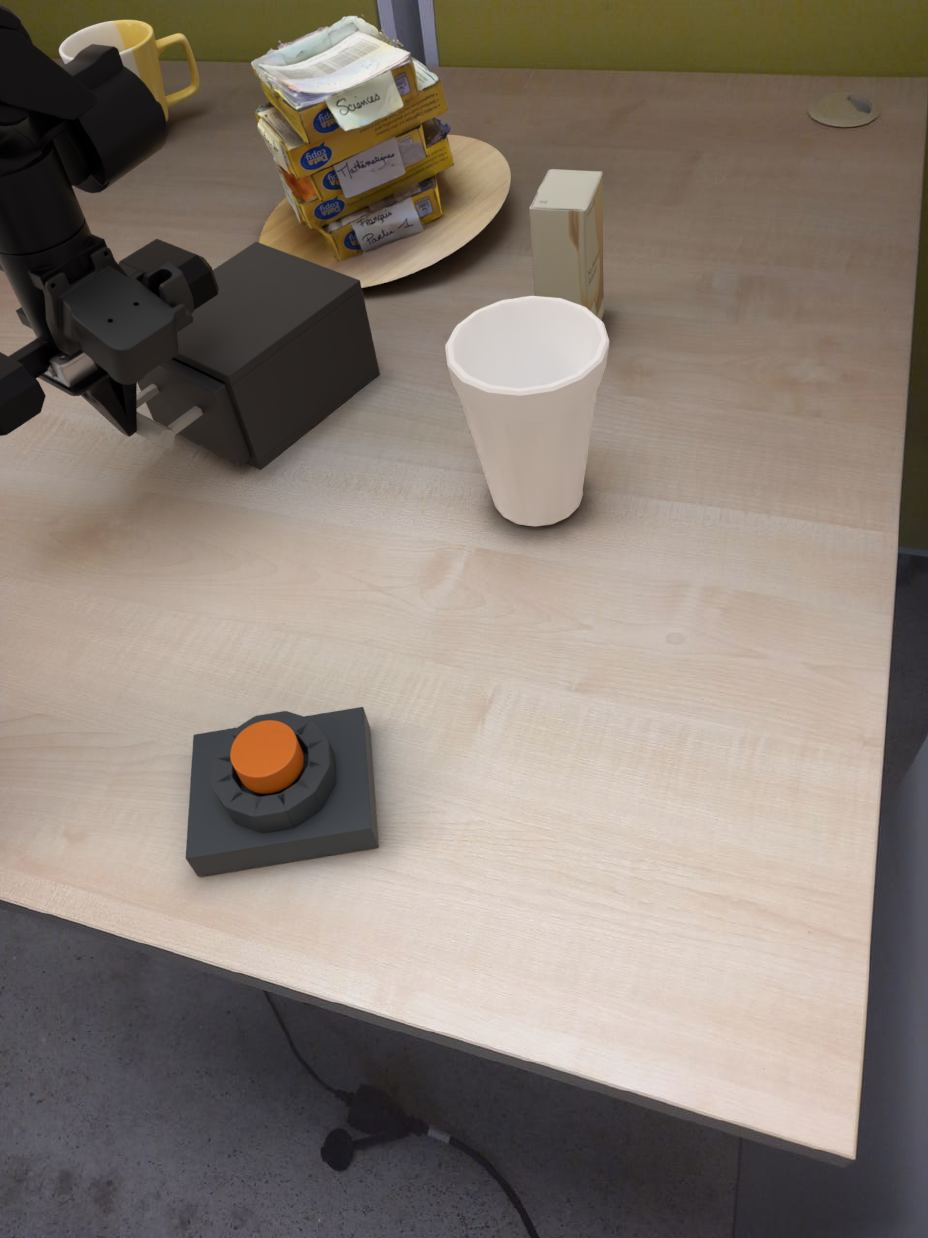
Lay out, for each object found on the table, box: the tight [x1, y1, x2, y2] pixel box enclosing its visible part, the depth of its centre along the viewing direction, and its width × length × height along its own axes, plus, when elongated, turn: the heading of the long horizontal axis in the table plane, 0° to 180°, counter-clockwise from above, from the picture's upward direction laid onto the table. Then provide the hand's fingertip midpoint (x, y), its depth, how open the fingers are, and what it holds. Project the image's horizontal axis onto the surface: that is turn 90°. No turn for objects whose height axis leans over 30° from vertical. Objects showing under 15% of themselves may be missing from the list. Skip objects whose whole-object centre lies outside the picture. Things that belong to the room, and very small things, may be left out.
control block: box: [185, 706, 380, 878], centre depth 57 cm, size 10×8×4 cm
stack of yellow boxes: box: [250, 13, 512, 289], centre depth 92 cm, size 25×25×17 cm
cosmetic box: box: [528, 168, 605, 321], centre depth 80 cm, size 6×4×12 cm
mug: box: [58, 19, 201, 122], centre depth 114 cm, size 14×10×10 cm
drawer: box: [135, 358, 251, 467], centre depth 78 cm, size 17×10×7 cm, turn 141°
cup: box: [444, 295, 610, 527], centre depth 67 cm, size 10×10×13 cm
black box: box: [174, 241, 380, 470], centre depth 80 cm, size 14×12×9 cm
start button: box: [230, 720, 304, 794], centre depth 55 cm, size 4×4×2 cm
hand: (129, 432), depth 74 cm, fingers closed
